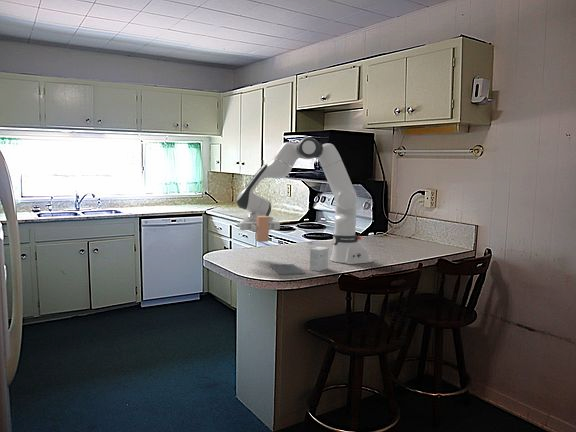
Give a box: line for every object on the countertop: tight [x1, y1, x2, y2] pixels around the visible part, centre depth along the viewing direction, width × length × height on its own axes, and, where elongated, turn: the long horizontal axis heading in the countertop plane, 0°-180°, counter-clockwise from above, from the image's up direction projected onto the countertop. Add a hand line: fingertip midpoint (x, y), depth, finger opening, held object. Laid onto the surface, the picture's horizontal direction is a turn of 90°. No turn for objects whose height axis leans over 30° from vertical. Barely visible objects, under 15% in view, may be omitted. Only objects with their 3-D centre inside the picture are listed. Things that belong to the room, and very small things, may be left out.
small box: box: [309, 246, 329, 272], centre depth 239 cm, size 8×6×10 cm
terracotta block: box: [255, 216, 270, 243], centre depth 237 cm, size 5×5×12 cm
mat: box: [269, 263, 306, 276], centre depth 236 cm, size 12×18×1 cm, turn 17°
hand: (262, 227), depth 236 cm, fingers closed on terracotta block, 5 cm apart
